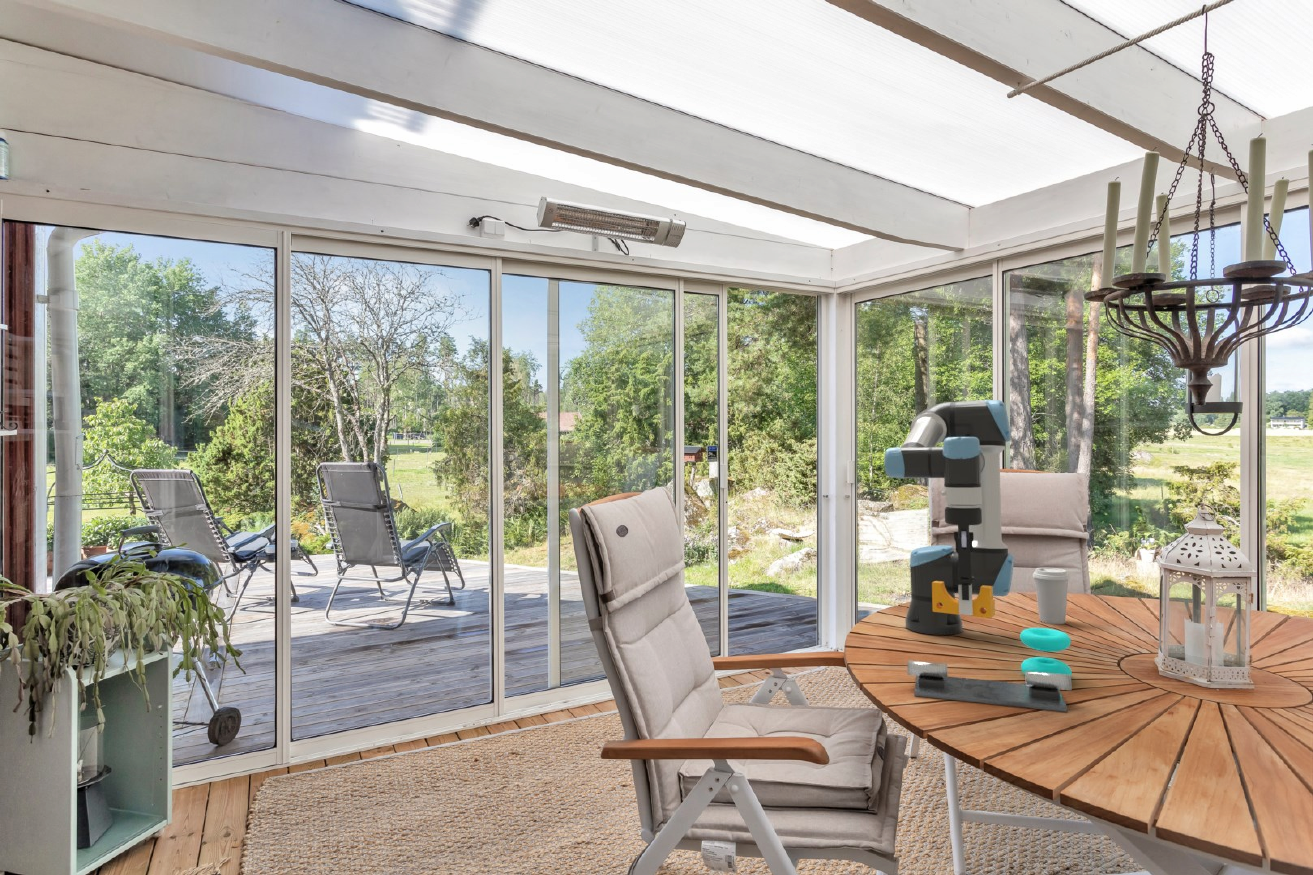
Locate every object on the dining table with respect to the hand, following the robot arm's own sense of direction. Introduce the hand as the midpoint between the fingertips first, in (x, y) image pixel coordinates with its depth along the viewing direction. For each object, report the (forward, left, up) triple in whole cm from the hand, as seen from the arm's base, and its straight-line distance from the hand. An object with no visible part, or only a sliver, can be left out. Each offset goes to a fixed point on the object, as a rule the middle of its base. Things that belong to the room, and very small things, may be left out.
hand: (965, 611), depth 155 cm
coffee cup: (-64, +24, -16) cm, 70 cm away
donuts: (-10, +16, -16) cm, 25 cm away
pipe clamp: (0, 0, -1) cm, 1 cm away
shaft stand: (+6, +3, -16) cm, 17 cm away
